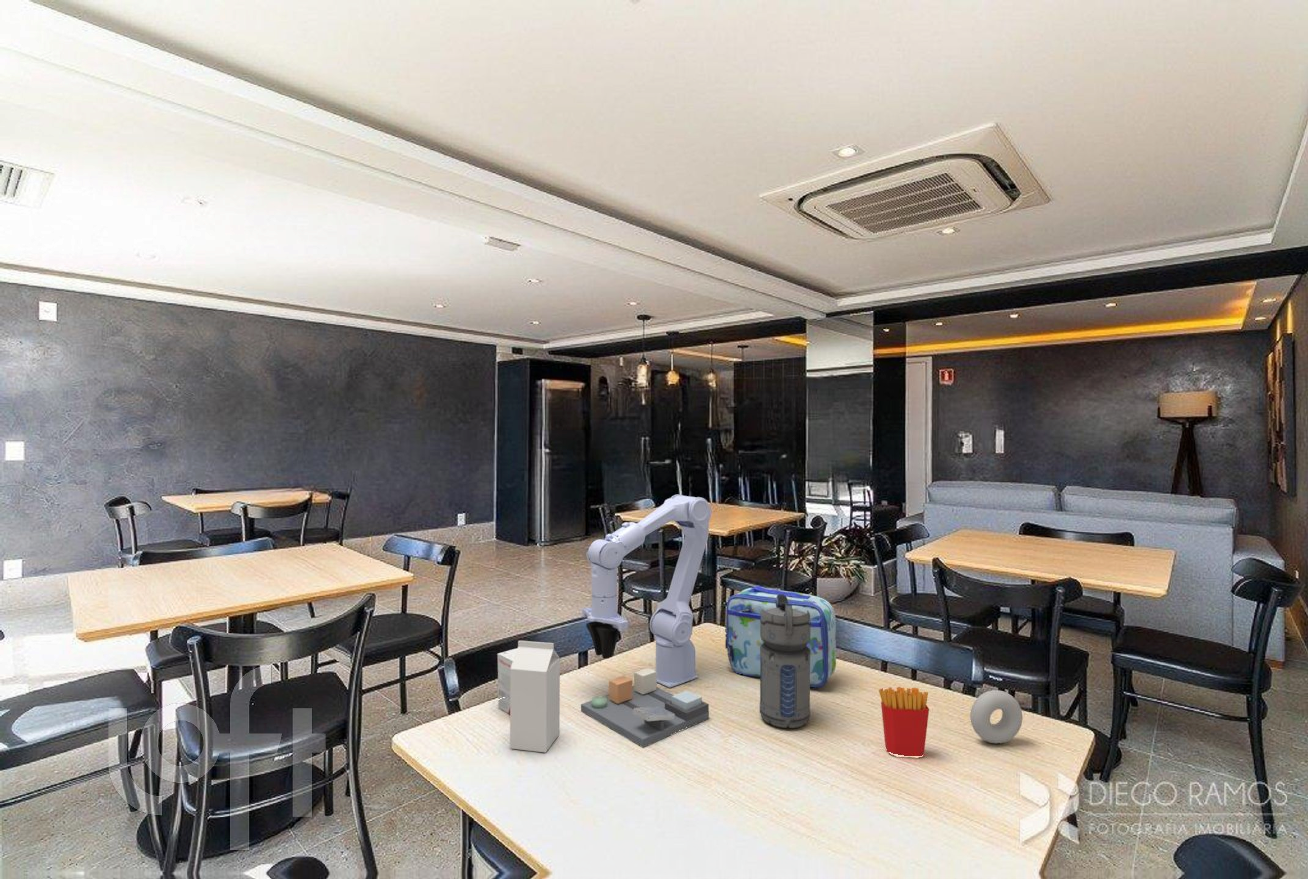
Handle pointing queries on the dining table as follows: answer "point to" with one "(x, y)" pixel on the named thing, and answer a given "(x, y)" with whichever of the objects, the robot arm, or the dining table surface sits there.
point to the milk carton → (534, 696)
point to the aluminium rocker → (653, 713)
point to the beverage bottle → (785, 665)
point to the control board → (637, 727)
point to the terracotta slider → (620, 689)
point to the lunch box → (747, 641)
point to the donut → (1009, 719)
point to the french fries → (904, 720)
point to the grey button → (686, 700)
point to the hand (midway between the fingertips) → (603, 655)
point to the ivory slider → (645, 681)
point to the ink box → (504, 678)
